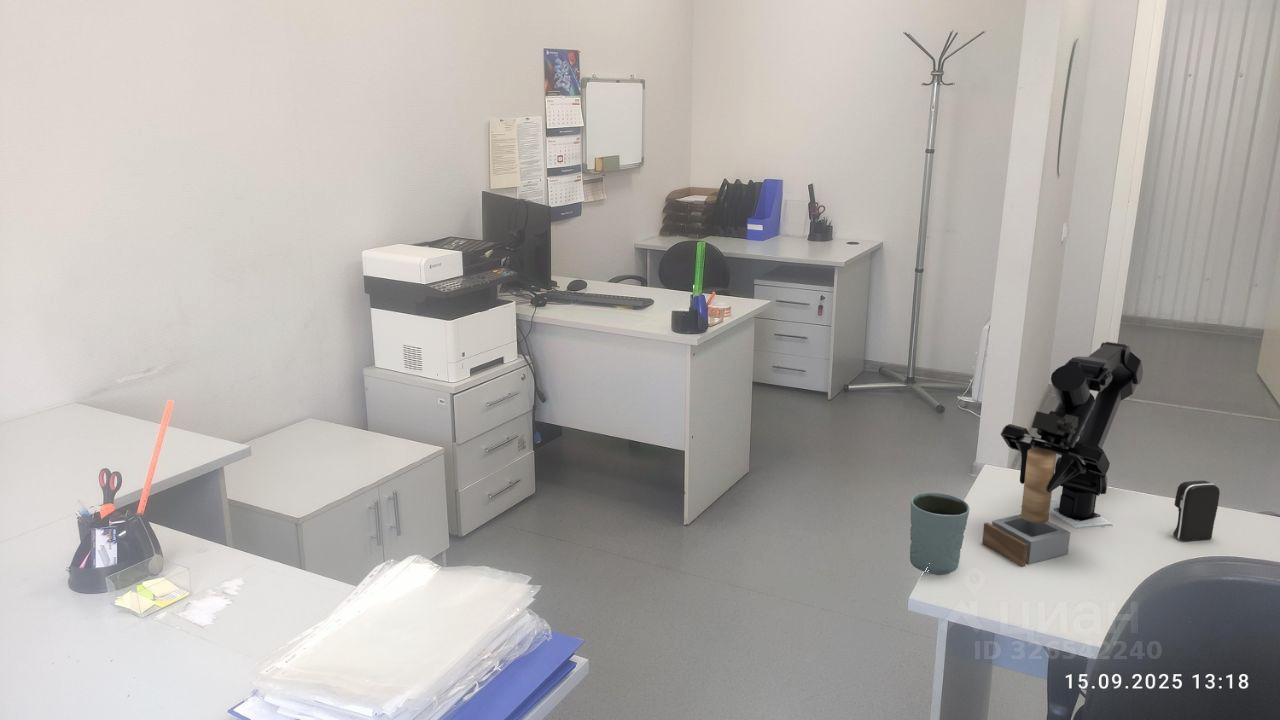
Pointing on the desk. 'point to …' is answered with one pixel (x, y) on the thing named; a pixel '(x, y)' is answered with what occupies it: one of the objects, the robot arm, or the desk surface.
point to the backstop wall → (1005, 544)
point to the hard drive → (1078, 524)
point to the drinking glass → (937, 531)
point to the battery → (1196, 510)
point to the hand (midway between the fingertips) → (1034, 487)
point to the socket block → (1036, 537)
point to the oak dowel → (1037, 485)
